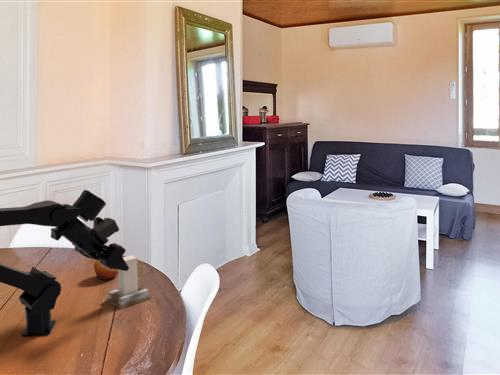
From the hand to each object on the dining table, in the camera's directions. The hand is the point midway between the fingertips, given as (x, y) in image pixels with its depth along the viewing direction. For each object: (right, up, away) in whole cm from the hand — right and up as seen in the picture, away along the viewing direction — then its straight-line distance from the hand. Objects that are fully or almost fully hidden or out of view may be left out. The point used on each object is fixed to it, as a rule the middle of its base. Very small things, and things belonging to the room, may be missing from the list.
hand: (119, 265), depth 125 cm
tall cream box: (+2, -10, +4) cm, 11 cm away
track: (+2, -11, +4) cm, 12 cm away
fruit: (-10, -8, +21) cm, 24 cm away
